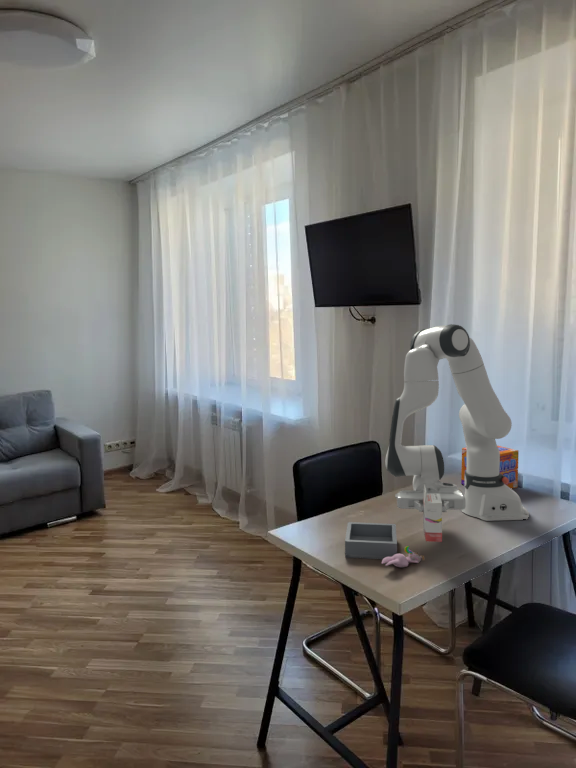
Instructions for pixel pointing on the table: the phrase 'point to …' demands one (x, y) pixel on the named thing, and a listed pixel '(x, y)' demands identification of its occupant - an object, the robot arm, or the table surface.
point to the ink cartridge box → (432, 517)
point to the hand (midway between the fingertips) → (432, 509)
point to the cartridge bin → (370, 540)
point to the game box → (506, 465)
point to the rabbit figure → (403, 558)
